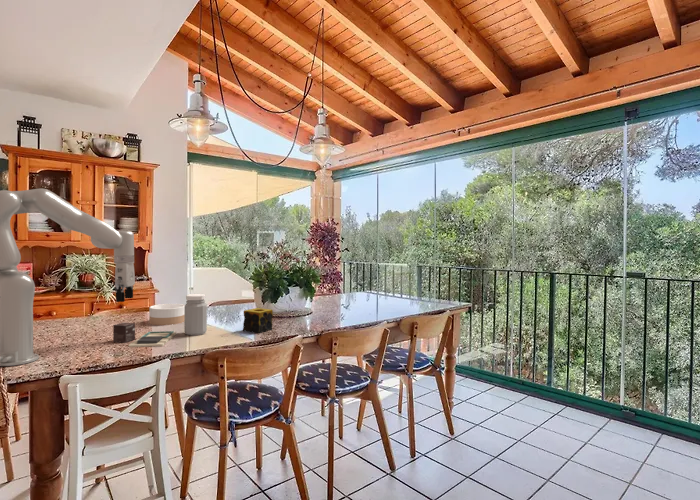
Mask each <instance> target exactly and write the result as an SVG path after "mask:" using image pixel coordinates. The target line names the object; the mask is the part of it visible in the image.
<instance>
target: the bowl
mask: <svg viewBox="0 0 700 500" xmlns="http://www.w3.org/2000/svg"><path fill="white" fill-rule="evenodd" d="M185 305H186V304H182V303H164V304H163V303H161V304H155V305H151V306H149V308H148V309H149V313H148V314H149V315H148V316H149V317H148V318H149V321H148V322H149V324H150V325H152V326H170V325H171V326H172V324H173V325H178V324H182V322H183V323H184V311H185Z"/></svg>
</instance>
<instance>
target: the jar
mask: <svg viewBox="0 0 700 500" xmlns="http://www.w3.org/2000/svg"><path fill="white" fill-rule="evenodd" d="M185 300H186V301H185V302H186V303H185V304H184V305H185V311H184V322H183V323H184V332H183V333H184V334H186V335H187V336H192V337H193V336H200V335H201V336H202V335H204V334H206V332H207V330H208V329H207V328H208V325H207V324H208V319H207V318H208V312H207V311H208V306H207V305H208V304H207V302H206V294H204V293H190V294H186V295H185Z"/></svg>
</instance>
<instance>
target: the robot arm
mask: <svg viewBox="0 0 700 500" xmlns="http://www.w3.org/2000/svg"><path fill="white" fill-rule="evenodd" d="M29 213H40V214H42V215H43V216H45V217H47V218H48V219H50V220H52V221H53V222H55V223H57V224H58V225H60V226H62V227H63V228H65V229H67V230H69V231H73V232H77V233H80V234H83V235H86V236H89V237H90V243H91V244H92V245H93V246H95V247H96V248H98V249H109V250H111V249H113V264H115V271H114V272H115V273H114V286H115V287H114V289H115V302H117V303H123V302H125V300H126V299H134V285H135V284H136V276H135V265H134V264H135V234H134V232H133V231H131V230H117V229H115V228H114V227H112V226H111V225H109V224H107V223H106V222H104V221H103V220H102V219H99V218H96V217H95V216H93V215H91V214H89V213H86V212H84V211H83V210H80V209H79V208H78V207H76V206H74V205H73V204H71V203H70V202H68V201H67V200H66V199H63V197H61V196H59V195H57V194H56V193H55V192H53V191H51V190H50V189H46V188H42V187H41V188H33V189H25V190H6V189H3V190H0V367H12V366H19V365H25V364H28V363H33V362H35V361H37V360H38V359H39V357H40V356H39V354H38V353H34V298H35V292H36V284H35V282H34V279H33V278H32V277H31V276H30V275H29V274H28V273H24V272H20V271H19V269H18V267H17V266H18V265H20V263H21V261H22V256H21V252H20V249H19V247H18V246H17V243H16V239H15V237H14V235H13V231H12V227H11V219H12V217H13V216H14V215H22V214H29Z"/></svg>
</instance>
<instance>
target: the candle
mask: <svg viewBox="0 0 700 500" xmlns="http://www.w3.org/2000/svg"><path fill="white" fill-rule="evenodd" d="M243 319H244V320H243V323H242V325H243V326H242V329H243V330H242V331H243V332H248V333H255V334H262V333H265V332H269V331H271V330H273V309H268V308H263V307H262V308H259V307H255V308H250V309H245V310H243Z"/></svg>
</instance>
